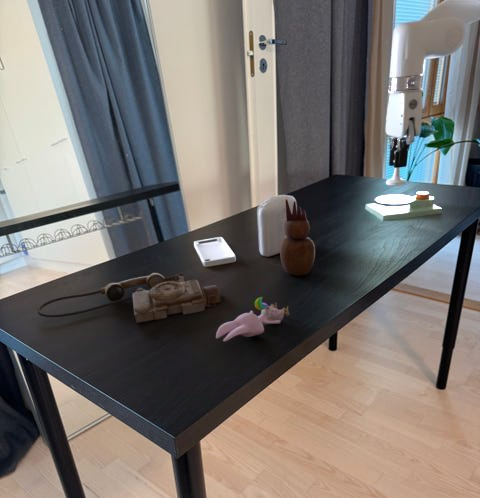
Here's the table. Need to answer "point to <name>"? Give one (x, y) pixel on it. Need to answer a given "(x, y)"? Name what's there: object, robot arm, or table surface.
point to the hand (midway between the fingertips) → (397, 165)
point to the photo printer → (272, 223)
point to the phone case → (214, 252)
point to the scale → (405, 209)
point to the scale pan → (394, 200)
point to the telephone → (154, 297)
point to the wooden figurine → (297, 243)
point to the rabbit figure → (252, 321)
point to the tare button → (422, 195)
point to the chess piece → (396, 178)
